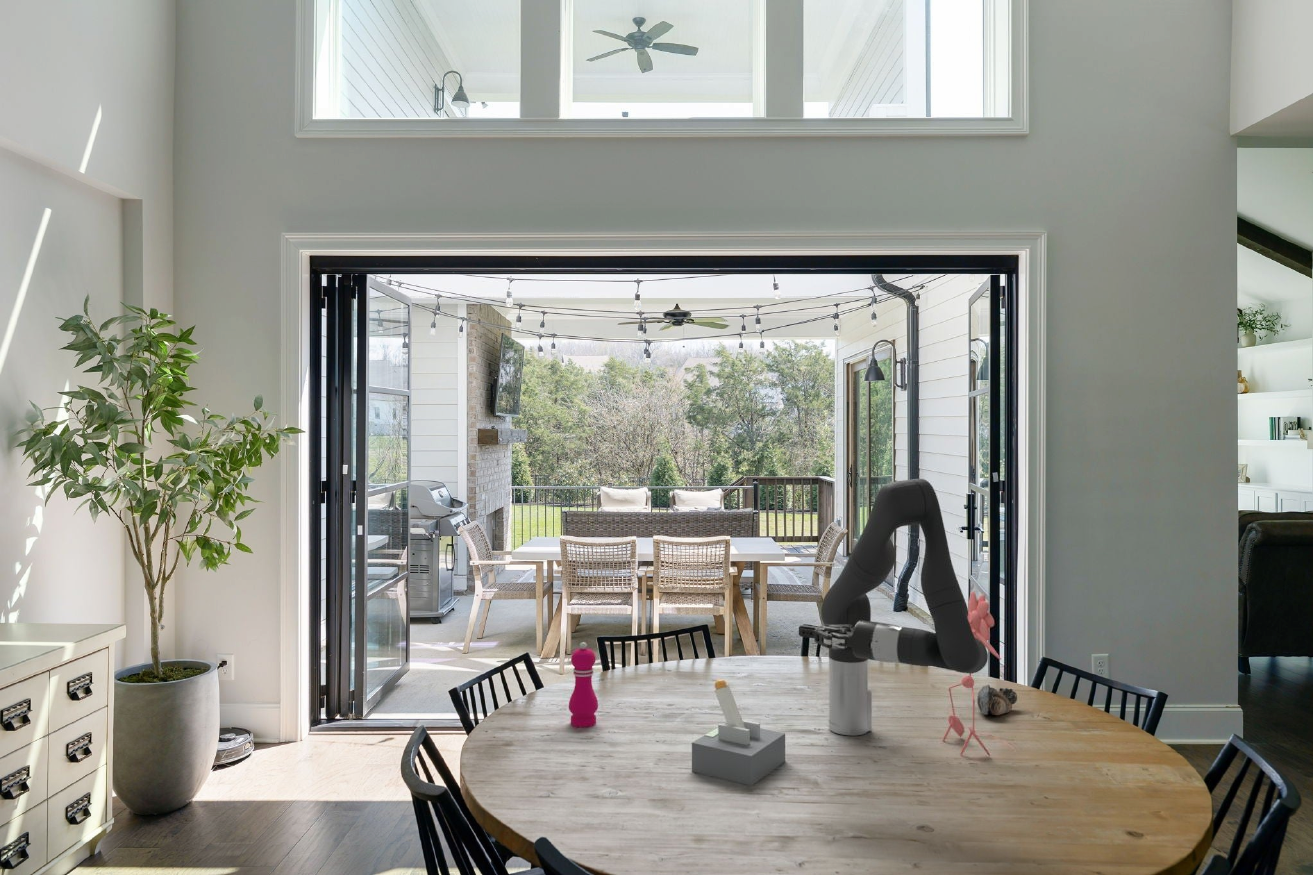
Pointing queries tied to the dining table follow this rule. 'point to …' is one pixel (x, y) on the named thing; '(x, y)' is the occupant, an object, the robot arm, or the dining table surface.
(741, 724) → the lever
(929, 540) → the robot arm
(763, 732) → the box
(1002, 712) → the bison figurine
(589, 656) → the pepper mill
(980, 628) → the pink flower figurine
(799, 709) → the dining table surface
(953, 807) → the dining table surface
